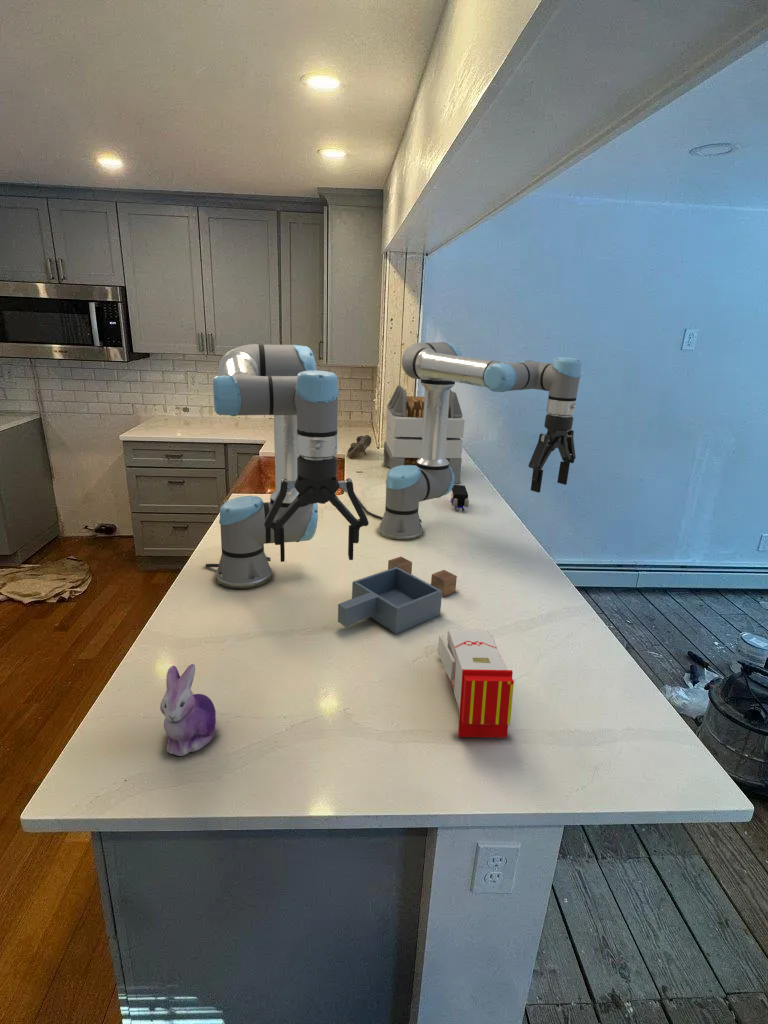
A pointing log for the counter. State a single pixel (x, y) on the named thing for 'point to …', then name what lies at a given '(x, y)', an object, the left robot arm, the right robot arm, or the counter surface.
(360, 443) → the fossil
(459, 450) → the white crate
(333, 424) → the left robot arm
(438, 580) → the walnut block
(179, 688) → the figurine
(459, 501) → the figurine character
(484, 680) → the toy
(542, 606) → the counter surface
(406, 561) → the walnut block
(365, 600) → the tray
